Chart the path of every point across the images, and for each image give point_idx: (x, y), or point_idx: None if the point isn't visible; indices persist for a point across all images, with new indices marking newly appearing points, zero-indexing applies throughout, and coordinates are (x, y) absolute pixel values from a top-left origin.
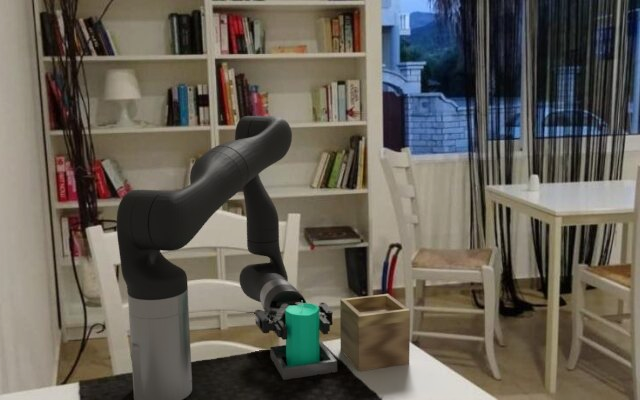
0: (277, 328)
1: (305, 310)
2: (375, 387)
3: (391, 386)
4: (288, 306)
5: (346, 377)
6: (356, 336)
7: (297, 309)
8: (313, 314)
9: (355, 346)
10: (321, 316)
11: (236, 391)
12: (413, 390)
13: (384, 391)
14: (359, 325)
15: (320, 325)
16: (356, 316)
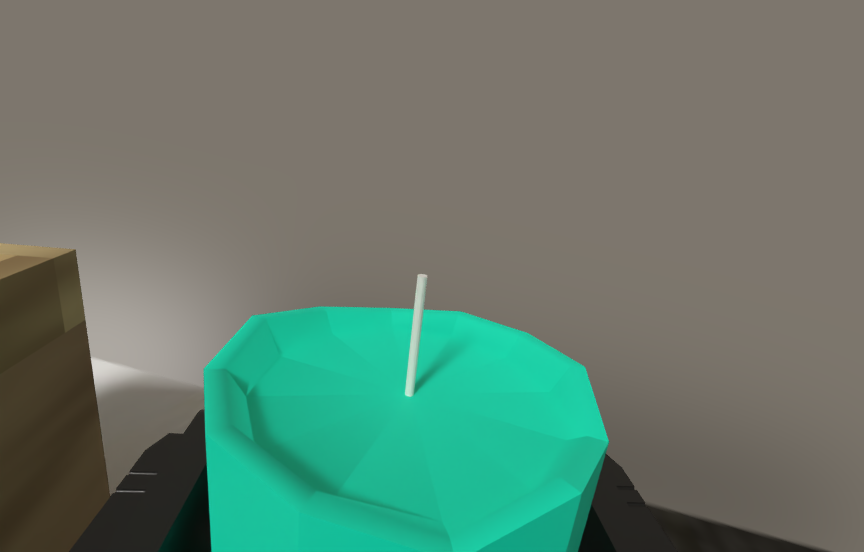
0: (625, 473)
1: (369, 394)
2: (189, 419)
3: (134, 410)
4: (582, 480)
5: None
6: (65, 413)
7: (452, 442)
8: (346, 313)
9: (63, 489)
10: (116, 543)
11: (709, 538)
12: (102, 379)
13: (186, 397)
14: (82, 306)
15: (200, 534)
16: (42, 282)
